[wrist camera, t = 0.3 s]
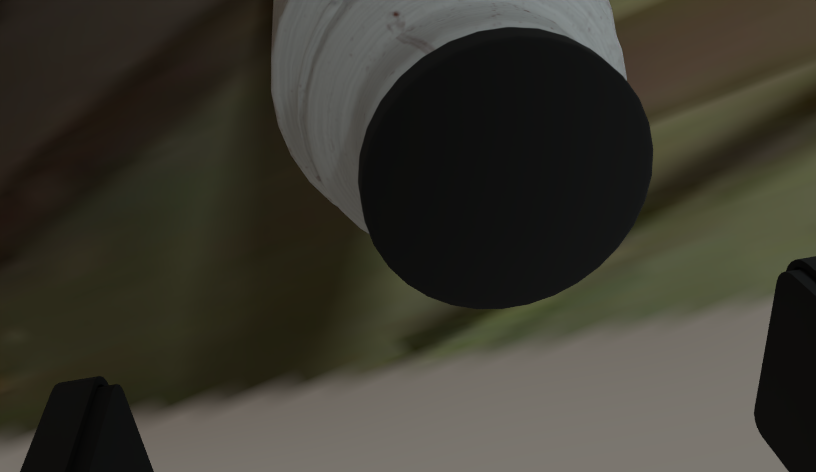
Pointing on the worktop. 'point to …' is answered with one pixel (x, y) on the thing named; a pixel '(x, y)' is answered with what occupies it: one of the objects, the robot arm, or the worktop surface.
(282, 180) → the worktop surface
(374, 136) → the thermos bottle
